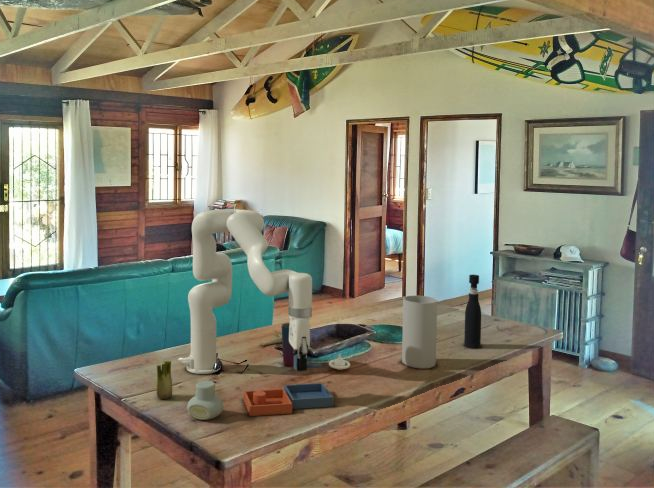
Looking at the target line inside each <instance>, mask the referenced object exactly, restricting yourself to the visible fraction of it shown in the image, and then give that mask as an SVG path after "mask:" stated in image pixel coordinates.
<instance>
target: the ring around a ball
mask: <svg viewBox="0 0 654 488" xmlns="http://www.w3.org/2000/svg"><path fill="white" fill-rule="evenodd" d="M328 366H329V367H330V368H332V369H334V370H338V371H342V370H346V369H349V368H350V367H351V363H350V361H348V360H345V359H343V356H342V354H341V353H339V354H338V356H336V359H332V360H330V361H328Z"/></svg>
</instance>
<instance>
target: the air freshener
mask: <svg viewBox="0 0 654 488" xmlns="http://www.w3.org/2000/svg"><path fill="white" fill-rule="evenodd" d="M186 405H187V406H186V408H187V412H188V413H189V415H190V416H191V417H193V418H195V419H198V421H208V420H212V419H214V418H217V417H218V416H220V414H221V413H222V412H223V410H224V402H223V399H221V398H220V397H219V396H217V395H216V382H213V381H211V380H200V381H197V382H196V383H195V395H194V396H193V397H192V398H190V399H189V401H188V402H187V404H186Z"/></svg>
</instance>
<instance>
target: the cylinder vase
mask: <svg viewBox="0 0 654 488" xmlns="http://www.w3.org/2000/svg"><path fill="white" fill-rule="evenodd" d="M437 322H438V299H437V298H435V297H430V296H427V295H406V296H404V297H403V298H402V336H401V337H402V339H401V340H402V341H401V342H402V343H401V362H402V364H404V365H405V366H407V367H410V368H413V369H420V370H425V369H426V370H427V369H431V368H434V367H435V366H436V364H437V363H436V362H437V328H438V325H437V324H438V323H437Z"/></svg>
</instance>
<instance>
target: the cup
mask: <svg viewBox="0 0 654 488" xmlns="http://www.w3.org/2000/svg"><path fill="white" fill-rule="evenodd" d="M289 324H290V322H284V323H281V333H282V342H281V343H282V362H283V366H286V367H294V365H293V347H292V346H291V344H290V343H289Z"/></svg>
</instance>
